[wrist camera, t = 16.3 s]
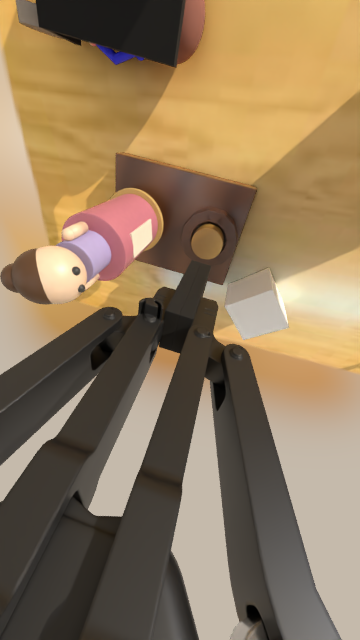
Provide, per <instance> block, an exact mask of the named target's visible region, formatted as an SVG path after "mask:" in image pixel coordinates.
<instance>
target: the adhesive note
mask: <svg viewBox="0 0 360 640" xmlns="http://www.w3.org/2000/svg"><path fill="white" fill-rule="evenodd" d="M225 308H226V310H227V312H228V314H229V315H230V317H231V319H232V321H233V322H234V324H235V326H236V328H237V330H238V331H239V333H240V335H241V337H242V338H243V340H245V339H249V338H253V337H256V336H260V335H264V334H267V333H271V332H275V331H279V330H282V329H286V328H289V326H288V321H287V316H286V312H285V307H284V303H283V300H282V298H281V295H280V293H279V291H278V288H277V286H276V283H275V281H274V279H273V276H272V274H271V271H270V269H269V268H267V269H264V270H262V271H260V272H257V273H255V274H252V275H250V276H247V277H245V278H242V279H240V280H237V281H235V282H232V283H230V284H228V287H227V294H226V300H225Z"/></svg>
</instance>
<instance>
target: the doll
mask: <svg viewBox="0 0 360 640" xmlns="http://www.w3.org/2000/svg"><path fill="white" fill-rule="evenodd" d="M162 232H163V217H162V213H161V210H160V208H159V206H158V205H157V203H156V202H155V200H154V199H153V198H152V197H151V196H150V195H148V194H147V193H146V192H144V191H142V190H140V189H136V188H125V189H122V190H119V191H118V192H116V193H115V194H114V195H113V196H112V197H111V198H110V200H109V201H106V202H104V203H101V204H99V205H97V206H94V207H92V208H89V209H87V210H84V211H82V212H79V213H77V214H74V215H72V216H71V217H69V218H68V219H67V221H66V222H65V224H64V226H63V229H62V242H60V243H58V244H57V245H56V246H44V247H41V248H37V249H31V250H28V251H26V252H24V253H22V254H21V255H20V256H19V257H18V258H17V259H16V260H15V262H14V263H13V264H9V265H7V266H6V267H5V268H4V269H3V270H2V272H1V276H0V277H1V282H2V283H3V285H4V286H5V287H6V288H7V289H9V290H10V291H13V292H16V293H20V294H21V295H22V296H23V297H25V298H26V299H28V300H30V301H32V302H35V303H39V304H62V303H67V302H70V301H72V300H74V299H76V298H77V297H78V296H79V295H80V294H81V293H82V292H84V291H85V290H87V289H88V288H89V287H90V286H91V285H92V284H94V283H95V282H96V281H97V280H100V281H108V280H112V279H115V278H116V277H118V276H119V275H120V274H121V273H122V272H123V271H124V270H125V269H126V268H127V267H128V266H129V265H130V264H131V263H132V262H133V261H134V260H135V259H136V258H137V257H138V256H139V255H140V254H141V253H142V252H143V251H146V250H149V249H151V248H152V247H153V246H155V245H156V243H157V242H158V241H159V239H160V238H161V235H162Z"/></svg>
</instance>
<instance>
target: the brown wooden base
mask: <svg viewBox="0 0 360 640" xmlns="http://www.w3.org/2000/svg"><path fill="white" fill-rule="evenodd" d="M125 188H136V189H140V190H142V191H144V192H146V193H147V194H148V195H150V196H151V197H152V198H153V199H154V200H155V202H156V203H157V205H158V206H159V208H160V210H161V213H162V217H163V232H162V235H161V238H160V239H159V241H158V242H157V243H156V245H155V246H153V247H152V248H151V249H149V250H146V251H143V252H142V253H141V254H140V255H139V256H138V257H137V258H136V259H135V260H138V261H141V262H145V263H148V264H151V265H155V266H158V267H162V268H165V269H169V270H172V271H176V272H179V273H182V274H185V272H186V270H187V268H188V266H189V264H190V262H191V260H193V261H197V262H200V263H204V264H207V265H211V269H210V272H209V276H208V279H207V281H210V282H213V283H217V284H220V285H223V283H224V280H225V277H226V274H227V272H228V269H229V266H230V263H231V261H232V258H233V255H234V252H235V249H236V247H237V244H238V241H239V238H240V236H241V233H242V230H243V227H244V224H245V222H246V219H247V216H248V213H249V211H250V208H251V205H252V202H253V199H254V197H255V194H256V191H257V189H256V187H254V186H250V185H247V184H243V183H239V182H235V181H231V180H227V179H223V178H220V177H216V176H212V175H208V174H204V173H200V172H197V171H193V170H189V169H185V168H181V167H177V166H174V165H170V164H166V163H162V162H158V161H154V160H150V159H147V158H143V157H139V156H135V155H131V154H127V153H124V152H122V153H116V192H118V191H119V190H122V189H125ZM205 224H213V225H216V226H217V227H219V228H220V229H221V231H222V233H223V235H224V243H223V247H222V250H221V252H220V253H219V254H218V255H217V256H216V257H215V258H212V259H202V258H200V257H198V256H197V255H196V254H195V253H194V252H193V250H192V247H191V240H192V237H193V235H194V234H195V232H196V230H197V229H198V228H199V227H200V226H202V225H205Z"/></svg>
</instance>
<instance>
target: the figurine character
mask: <svg viewBox="0 0 360 640" xmlns="http://www.w3.org/2000/svg"><path fill="white" fill-rule="evenodd" d="M16 5H17V11H18V17H19V23H21V24H22V25H25V26H27V27H29V28H32V29H34V30H37V31H40V32H42V33H45V34H48V35H51V36H54V37H58V38H61V39H66V40H68V41H70V42H72V43H74V44H76V45H80V46H81V40H83V41H86V42H89V44H90V45H92V46H97V47H98V48H99V49H100V50H101V51H102V52H103V53H104V54H105V55H106V56H107V57H108V58H109V59H110V60H111V61H112V62H113V63H114V64H115V65H117V64H120V63H122V62H124V61H127V60H129V59H131V58H134V57H137V59H138V60H140V61H142V60H144V58H145V59H148V60H152V61H155V62H159V63H162V64H166V65H169V66H172V67H176V66H177V64H181V63H183V62H185V61H186V60H188V59H189V58H190V57H191V56H192V55H193V53H194V52H195V50H196V49H197V47H198V45H199V42H200V40H201V37H202V33H203V28H204V22H205V2H204V0H36V4H35V3H32V2H29V1H26V0H16ZM112 49H114V50H117V51H119V52H117V53H115V52H114V51H113V50H112Z"/></svg>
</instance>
